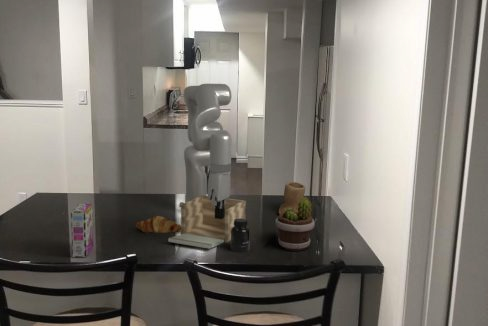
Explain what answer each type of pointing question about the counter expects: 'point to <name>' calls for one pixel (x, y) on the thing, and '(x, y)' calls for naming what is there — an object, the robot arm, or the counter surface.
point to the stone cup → (292, 196)
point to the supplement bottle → (240, 236)
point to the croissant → (158, 225)
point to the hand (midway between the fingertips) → (219, 218)
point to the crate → (210, 218)
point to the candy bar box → (82, 230)
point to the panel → (196, 240)
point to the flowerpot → (295, 226)
